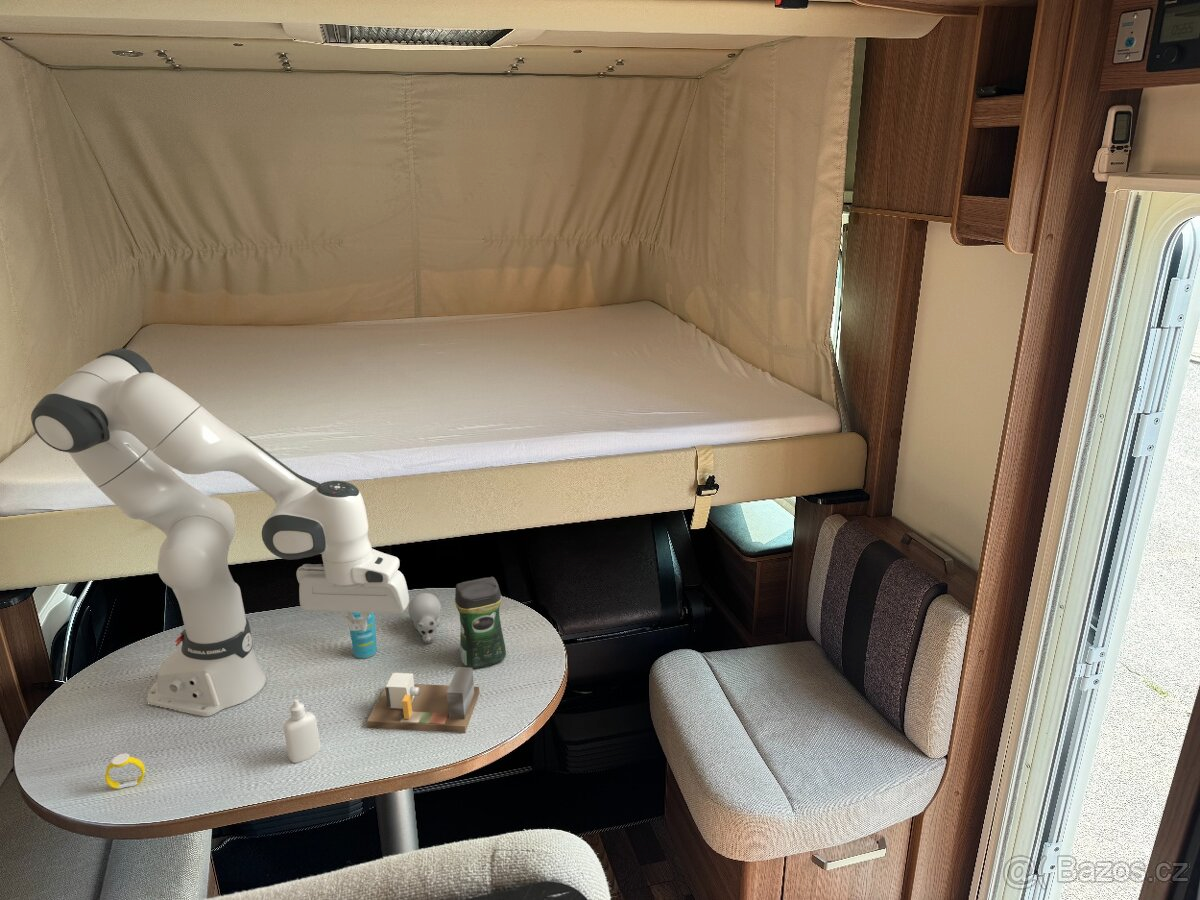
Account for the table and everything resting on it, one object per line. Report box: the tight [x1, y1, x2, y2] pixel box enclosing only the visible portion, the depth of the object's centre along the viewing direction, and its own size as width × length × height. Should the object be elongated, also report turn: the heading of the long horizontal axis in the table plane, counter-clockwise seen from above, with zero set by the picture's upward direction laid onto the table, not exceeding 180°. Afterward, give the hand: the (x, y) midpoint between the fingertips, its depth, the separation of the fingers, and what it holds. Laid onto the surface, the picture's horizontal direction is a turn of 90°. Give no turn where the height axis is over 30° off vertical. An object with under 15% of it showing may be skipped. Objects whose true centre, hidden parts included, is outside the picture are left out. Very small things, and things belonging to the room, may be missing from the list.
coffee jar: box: [454, 576, 507, 669], centre depth 181 cm, size 10×8×19 cm
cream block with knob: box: [384, 672, 420, 719], centre depth 165 cm, size 6×8×5 cm
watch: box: [104, 752, 146, 790], centre depth 149 cm, size 6×3×6 cm, turn 109°
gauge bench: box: [366, 666, 480, 734], centre depth 167 cm, size 19×12×8 cm, turn 85°
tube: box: [347, 613, 378, 659], centre depth 183 cm, size 7×5×19 cm, turn 123°
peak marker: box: [402, 695, 412, 719], centre depth 163 cm, size 1×2×4 cm, turn 174°
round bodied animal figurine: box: [408, 592, 442, 644], centre depth 192 cm, size 7×12×8 cm, turn 12°
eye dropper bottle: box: [283, 698, 322, 764], centre depth 155 cm, size 4×6×12 cm
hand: (358, 629), depth 163 cm, fingers closed
